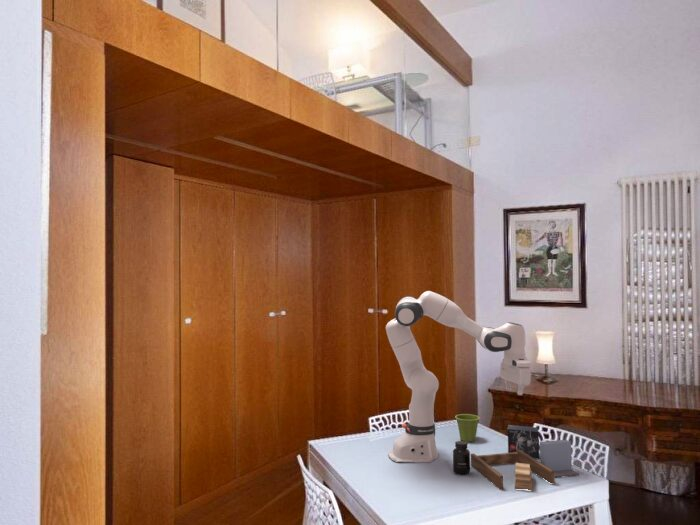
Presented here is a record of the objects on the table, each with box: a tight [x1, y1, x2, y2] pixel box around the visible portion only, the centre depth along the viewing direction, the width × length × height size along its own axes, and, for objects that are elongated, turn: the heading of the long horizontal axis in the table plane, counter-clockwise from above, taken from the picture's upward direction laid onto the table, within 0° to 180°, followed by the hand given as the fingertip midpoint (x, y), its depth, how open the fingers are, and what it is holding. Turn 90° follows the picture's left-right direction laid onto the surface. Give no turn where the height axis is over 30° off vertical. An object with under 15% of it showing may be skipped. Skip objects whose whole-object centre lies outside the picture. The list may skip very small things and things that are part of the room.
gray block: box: [539, 439, 573, 471], centre depth 203 cm, size 12×3×11 cm, turn 101°
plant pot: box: [454, 413, 481, 443], centre depth 246 cm, size 12×12×11 cm
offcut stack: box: [514, 463, 533, 491], centre depth 191 cm, size 14×6×6 cm, turn 161°
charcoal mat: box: [554, 468, 580, 478], centre depth 203 cm, size 12×12×1 cm
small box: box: [507, 424, 540, 460], centre depth 223 cm, size 13×7×12 cm, turn 70°
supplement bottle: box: [452, 440, 471, 476], centre depth 204 cm, size 7×7×12 cm
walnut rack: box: [470, 450, 555, 490], centre depth 201 cm, size 22×26×5 cm
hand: (514, 392), depth 215 cm, fingers open, 8 cm apart
